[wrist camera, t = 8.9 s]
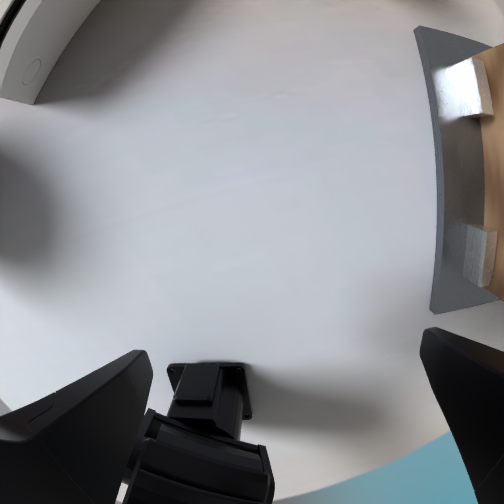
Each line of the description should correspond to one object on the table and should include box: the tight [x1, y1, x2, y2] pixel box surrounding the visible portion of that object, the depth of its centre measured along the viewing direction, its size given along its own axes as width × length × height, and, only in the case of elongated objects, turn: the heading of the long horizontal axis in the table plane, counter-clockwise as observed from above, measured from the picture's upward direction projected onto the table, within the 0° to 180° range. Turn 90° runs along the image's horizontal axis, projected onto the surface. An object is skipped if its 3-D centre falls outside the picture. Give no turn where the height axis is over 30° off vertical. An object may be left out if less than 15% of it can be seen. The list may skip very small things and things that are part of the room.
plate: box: [414, 26, 500, 315], centre depth 16 cm, size 22×11×4 cm, turn 6°
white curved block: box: [0, 0, 100, 105], centre depth 12 cm, size 17×5×10 cm, turn 144°
